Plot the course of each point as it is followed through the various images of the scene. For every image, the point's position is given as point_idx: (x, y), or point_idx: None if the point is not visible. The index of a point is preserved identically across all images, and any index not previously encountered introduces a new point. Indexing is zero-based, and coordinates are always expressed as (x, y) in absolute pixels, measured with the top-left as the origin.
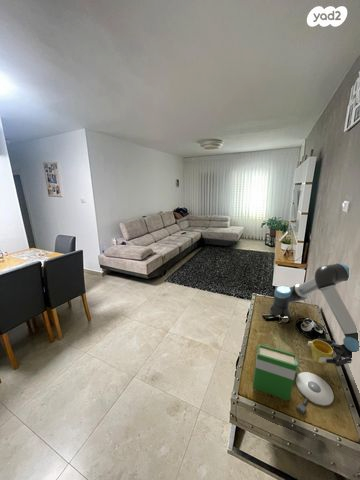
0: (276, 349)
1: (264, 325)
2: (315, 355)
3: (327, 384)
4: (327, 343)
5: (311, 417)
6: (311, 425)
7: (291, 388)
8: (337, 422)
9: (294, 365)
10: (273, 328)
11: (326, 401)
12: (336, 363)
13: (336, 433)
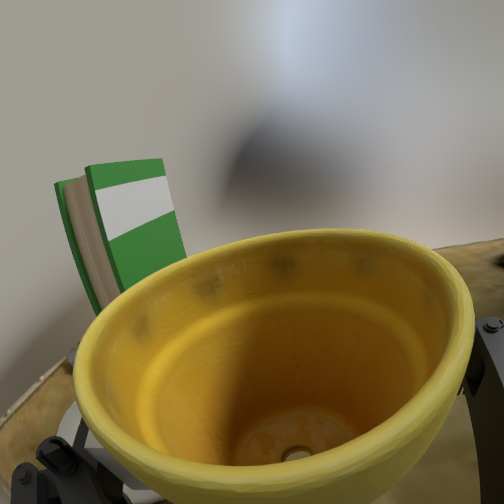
0: (129, 161)
1: (465, 268)
2: (229, 362)
3: (132, 497)
4: None
5: (59, 381)
6: (48, 374)
7: (86, 290)
8: (22, 436)
9: (60, 182)
10: (480, 286)
11: (63, 436)
12: (45, 477)
13: (12, 415)
